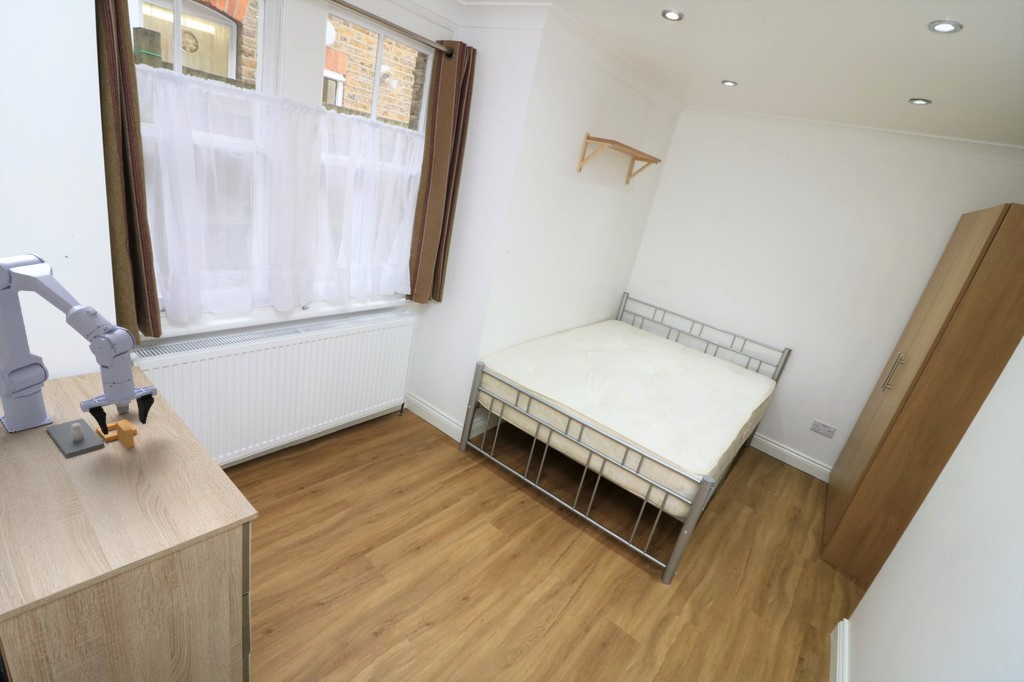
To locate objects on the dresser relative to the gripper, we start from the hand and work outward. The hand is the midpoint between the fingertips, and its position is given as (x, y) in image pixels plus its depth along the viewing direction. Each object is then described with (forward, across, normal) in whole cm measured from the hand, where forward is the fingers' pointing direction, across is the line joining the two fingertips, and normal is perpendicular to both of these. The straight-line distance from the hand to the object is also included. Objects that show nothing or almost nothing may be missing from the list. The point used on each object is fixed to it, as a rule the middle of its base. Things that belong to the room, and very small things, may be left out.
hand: (124, 427), depth 117 cm
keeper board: (+4, -8, +9) cm, 12 cm away
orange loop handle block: (+4, 0, +3) cm, 6 cm away
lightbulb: (+5, +4, +15) cm, 17 cm away
